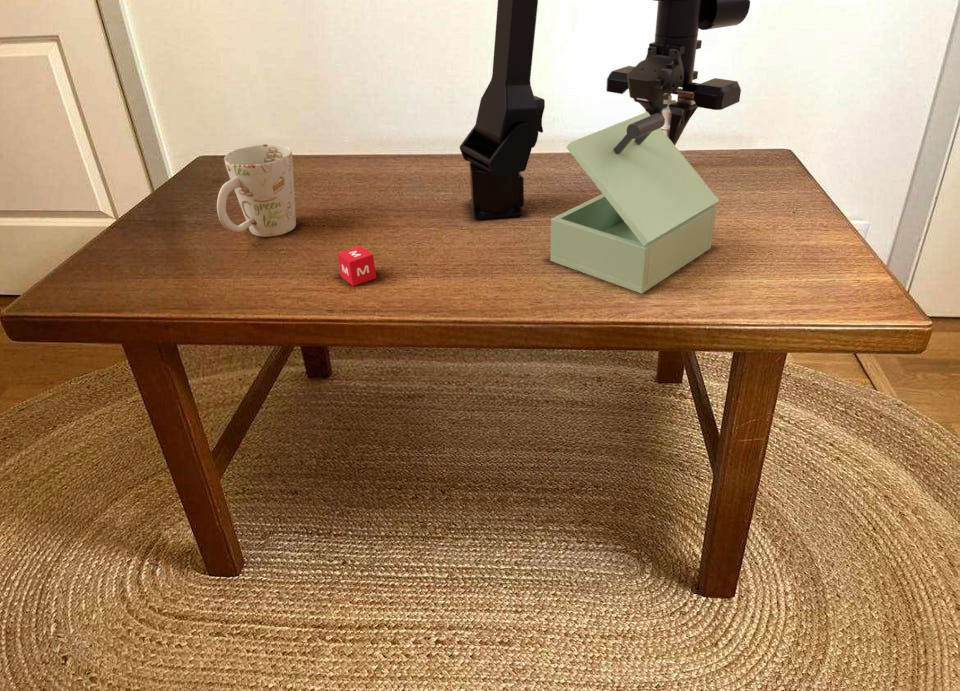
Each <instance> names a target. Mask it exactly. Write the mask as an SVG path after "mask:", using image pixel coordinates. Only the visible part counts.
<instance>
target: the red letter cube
mask: <svg viewBox="0 0 960 691" xmlns="http://www.w3.org/2000/svg"><path fill="white" fill-rule="evenodd" d="M374 257H375V256H374V254H373V253H371V252H370V251H368V250H367V249H366V248H364V247H363V246H361V245H360V246H357V247H353V248H350V249H347V250H344V251H341V252H338V253H337V260H338V267H339V274H340V277H341V278H342V279H343V280H344V281H346V282H347V283H349V284H350V285H351V286H352V287H354V286H355V287H356V286H358V285H360V284H363V283H366V282H369V281H372V280H375V279H377V273H376V264H375V258H374Z"/></svg>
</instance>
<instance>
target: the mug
mask: <svg viewBox="0 0 960 691" xmlns="http://www.w3.org/2000/svg"><path fill="white" fill-rule="evenodd" d="M223 163H224V165H225V168H226V171H227V175H228V176H229V180H228V181H226V182H224V183H223V185H222V186H221V187H220V189H219V192H218V195H217V200H216V213H217V217H218V219H219V222H220V223H221V225H222V226H223V227H224V228H225V229H226V230H228V231H230V232H233V233H243V232H244V231H246V230H247V229H249V232H250V233H251V234H252V235H254V236H256V237H263V238H270V237H276V236H282V235H285V234H287V233H289V232H292V230H294V229H295V228H296V226H297V216H296V215H297V214H296V198H295V178H294V159H293V152H292V149H291V148H289V146H286V145H282V144H276V143H275V144H274V143H273V144H272V143H271V144H270V143H268V144H266V143H263V144H255V145H254V144H253V145H249V146H244V147H240V148H237V149H234V150H232V151H230V152H228V153H227V154H226V155H225V156H224V158H223ZM233 191H234V193H235V195H236V199H237V200H238V203H239V206H240V208H241V211H242V213H243V216H244V219H245V220H244V221H243V222H242V223H240V224H239V225H237V224H236V223H234V222H233V221H232V220H231V219H230V217H229V216H228V213H227V207H226V206H227V200H228V197H229V195H230V193H231V192H233Z"/></svg>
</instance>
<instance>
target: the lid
mask: <svg viewBox="0 0 960 691" xmlns="http://www.w3.org/2000/svg"><path fill="white" fill-rule="evenodd" d="M664 124H665V118H664V116H663V115H662V114H660V113H656V114H654V115H651V116H650V114H649V113H648V112H646V111H645V112H643V113H641V114H638V115H636V116H633V117H630V118H628V119H625V120H623V121H621V122H618V123H615V124H613V125H611V126H608V127H605V128H603V129H601V130H598V131H596V132H593V133H590V134H588V135H585V136H583V137H580V138H577V139H575V140H573V141H570V142H569V143H568V144H567V145H566V146H565V147H566V150H568V152H569V153H570V154H571V155H572V157H573V158H574V160H576V162H577V163H578V164H579V166H580V167H581V168H582V169H583V171H584V172H585V173H586V175H587V176H588V177H589V178H590V180H591V181H592V183H594V185H595V186H596V187H597V188H598V190H599V191H600V193H601V194H603V195H604V196H605V197H606V199H607V200H608V201H609V202H610V204H611V205H612V206H613V208H614V209H615V210H616V211H617V213H618V214H619V215H620V217H621V218H622V219H623V220H624V222H625V223H626V224H627V225H628V227H629V228H630V229H631V231H632V232H633V233H634V234H635V236H636V237H637V238H638V239H639V241H640V242H641V243H642V245H643V246H646V245H648V244H649V243H651V242H653V241H654V240H656V239H658V238H660V237H661V236H663V235H665V234H666V233H668V232H670V231H671V230H673V229H675V228H676V227H678V226H680V225H681V224H683V223H685V222H686V221H688V220H690V219H692V218H693V217H695V216H697V215H698V214H700V213H702V212H703V211H705V210H707V209H708V208H710V207H712V206H716V205H717V204H718V203H719V202H720V199H719V198H718V197H717V195H716V194H715V192H713V190H711V188H710V187H709V186H708V185H707V183H706V182H705V181H704V180H703V178H702V177H701V176H700V175H699V173H698V172H697V170H696V169H694V168H693V166H692V165H691V163H690V162H689V160H687V158H686V157H685V156H684V155H683V154H682V152H681V151H680V150H679V149H678V147H677V146H676V145H674V144H673V143H672V141H671V140H670V139H669V138H668V137H667V135H666V134H665V133H664V132H663V130H662V129H661V128H662V127H663V126H664Z"/></svg>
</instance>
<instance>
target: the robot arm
mask: <svg viewBox="0 0 960 691" xmlns="http://www.w3.org/2000/svg"><path fill="white" fill-rule="evenodd" d="M653 1H655V2H657V10H656V21H655V33H654V41H652V42H650V43H648V47H647V53H646V57H645V59H643V60H641V61H639V62H638V63H637V64H636V65H635V66H633V65H627V66H624V67H621V68H617V69H614V70H612V71H610V73H609V75H608V76H607V78H606V87H605V88H606V89H605V91H606V92H608V93H613V94H619V95H622V94H623V95H624V94H625V93H626V92H627V91H628V94H629V98H631V99H633V101H634V102H635V103H638V104H640V106H641V107H642V108H643V109H644V110H645V112H648V113H649V114H650V116H651V115H654V114H656V113H660V114H662V109H663V108H666V107H667V106H668V104H663V102H664V100H668V97H669V96H672V95H677V99H676V102H675V103H672V104H670V105H669V108H670V110H671V113H672V117H671V124H670V132H669V139H670V140H671V141H672V143H673V144H674V145H675V146H676V144H677V143H678V142H679V139H680V137H681V135H682V134H683V132H684V130H685V128H686V127H687V125H688V123H689V121H690V120H691V118H692V117H693V115H694V114H695V112H696V111H697V110H698V108H701V109H707V110H712V111H713V110H714V111H722V110H724V109H727V108H728V107H731V106H733V105H735V104H737V103H740V99H741V93H742V89H741V86H740V84H739V82H738V81H737V80H731V79H724V78H717V77H714V78H712V79H709V80H706V81H703V82H701V83H699V82H693V81H695V80H698V76H699V71H698V70H695V63H696V55H697V54H696V53H697V50H699V49H701V48H702V42H703V40H702V39H698V37H699V30H701V31H706V30H713V29H719V28H721V29H722V28H727V27H733V26H739V25H740V24H741V23H743V22H744V21H745V19H746V18H747V17H748V14H749V11H750V7H751V0H653ZM538 6H539V0H497V8H496V20H495V34H494V46H493V47H494V48H493V59H492V60H493V62H492V74H491V79H490V81H489V83H488V85H487V87H486V88H485V90H484V93H483V94H482V97H481V98H480V101H479V106H478V111H477V115H476V120H475V125H474V126H473V127H472V128H471V130H470V132H469V133H468V134H467V135H466V137H465V138H464V140H463V141H462V142H461V144H460V145H459V150H460V153H461V155H462V157H463V160H464V161H466V162H469V178H470V199H469V206H470V209H471V213H472V217H473V219H474V220H487V219H500V218H513V217H521V216H523V211H522V210H523V209H522V208H523V207H524V205H525V198H524V197H525V192H524V190H525V189H524V186H525V185H524V176H523V174H522V172H525V171H526V169H527V166H528V163H529V159H530V155H531V152H532V149H533V148H535V147H536V144H537V142H538V140H539V139H538V138H539V133H540V134H542V133H543V132H544V129H543V128H544V127H543V116H544V112H545V108H546V104H545V102H546V101H545V99H544V98H542V97H539V96H536V95H534V91H533V88H532V85H531V77H532V67H533V56H534V46H535V35H536V26H537V16H538ZM662 130H663V129H662Z"/></svg>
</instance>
